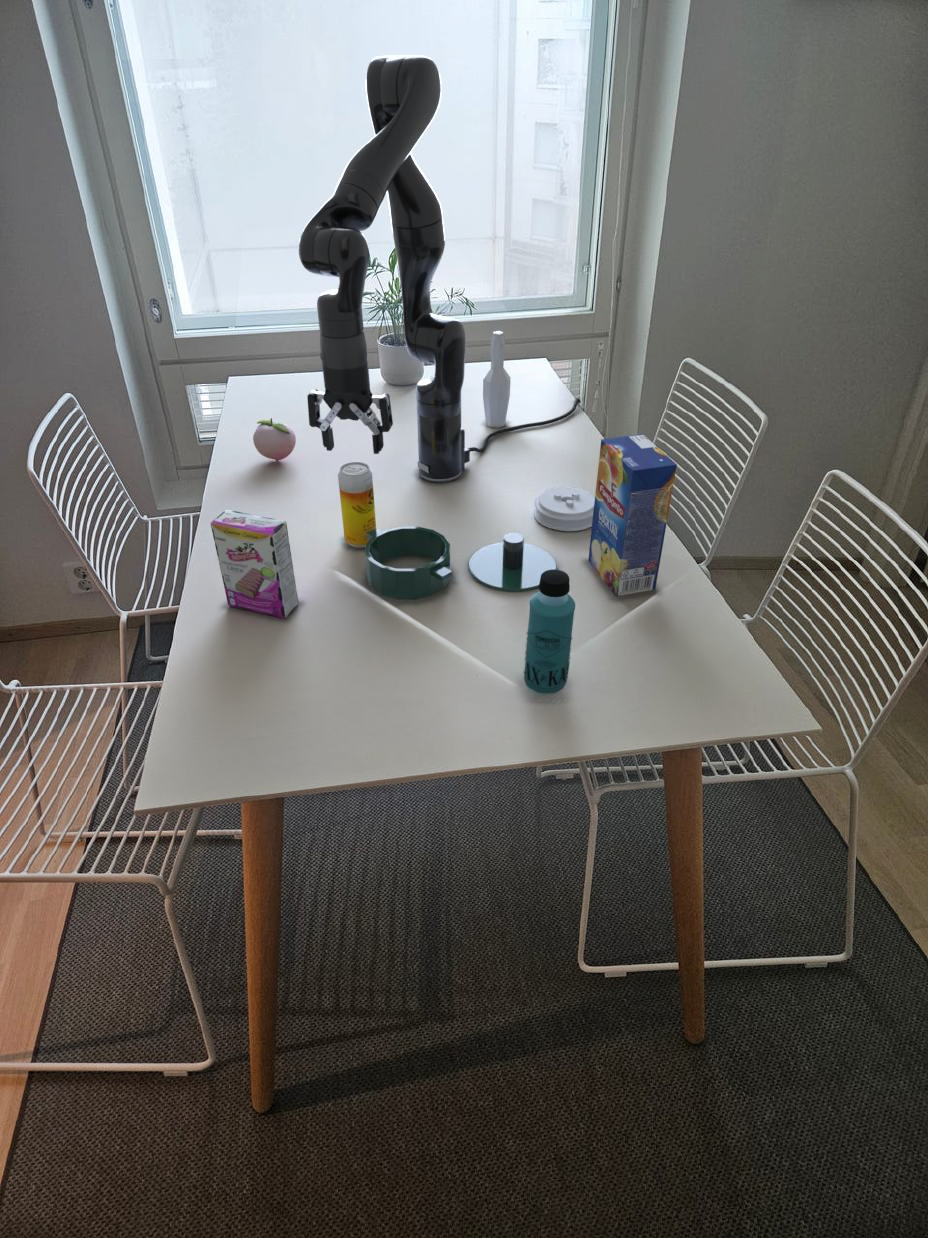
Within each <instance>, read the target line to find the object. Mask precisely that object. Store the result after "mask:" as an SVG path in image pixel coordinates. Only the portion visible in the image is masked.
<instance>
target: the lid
mask: <svg viewBox="0 0 928 1238" xmlns="http://www.w3.org/2000/svg"><path fill="white" fill-rule="evenodd" d="M594 502H595V495H593V494H592V493H591V492H589V491H587V490H585V489H584V488H580V487H574V486H555V487H551V488H548V489H546V490H544V491H543V492H540V493H539V494H538V495H537V496H536V497H535V499H534V507H535V508H534V510H533V516H534V518H535V520H536V521H537V523H539V524H541V525H542V526H544V527H546V528H549V529H551V530H555V531H561V532H578V531H583V530H587V529H590V528H592V520H593V511H594Z"/></svg>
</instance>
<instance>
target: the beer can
mask: <svg viewBox="0 0 928 1238" xmlns="http://www.w3.org/2000/svg"><path fill="white" fill-rule="evenodd" d="M337 473H338V474H337V480H338V489H339V490H338V491H339V499H340V509H341V519H342V527H343V537H344V538H343V539H344V541H345V542H346V543H347V544H348V545H349V546H351V547H353V548H360V549H361V548H362V549H363V548H365V547H366V543H367V542H368V541H369V540H370V539H368V538H366V533H367V532H369V531H371V530H373V529H375V528H377V521H376V507H375V493H374V480H373V472H372V470H371V468H370V465H368V464H367V463H364V462H359V461H352V462H351V461H350V462H347V463H345V464H342V465H341V466H340V467H339V470H338V472H337Z"/></svg>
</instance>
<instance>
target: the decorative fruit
mask: <svg viewBox="0 0 928 1238" xmlns="http://www.w3.org/2000/svg"><path fill="white" fill-rule="evenodd" d="M256 424H257V425H258V424H259V425H258V426H257V427H256V429H255V430H254V433H253V435H252V442H253V445H254V448H255V449H256V451H257V452H258V454H260V455H261V456H263V457H265V458H267V459H269V460H275V461H277V462H278V461H282V460H284V459H286V458H287V457H289V456H290V455H291V454H292V453H293V451H294V449H295V447H296V443H297V438H296V434H295V432H294V430H293V429H292V428H291V427H290V426H289V425H287V424H285V423H283V422H274V421H273V418H272V417H271V418H270V419H261V420H258V421H257V422H256Z"/></svg>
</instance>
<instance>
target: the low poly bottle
mask: <svg viewBox="0 0 928 1238" xmlns="http://www.w3.org/2000/svg"><path fill="white" fill-rule="evenodd" d="M489 344H490V369H489V370H488V372H487V373H486V374H485V376H484V378H483V380H482V402H483V410H484V419H485V420H484V421H485V425H486V426H488V427H489V428H498V429H499V428H502V427H504V426H505V425H506V423H507V422H506V421H507V416H508V411H509V410H508V409H509V403H510V396H511V375H510V374H509V373H508V372H507V370H506V369H505V367H504V362H505V349H506V348H505V347H506V338H505V333H504V331H501V330H494V331H493V332H492V335H491V339H490V342H489Z"/></svg>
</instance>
